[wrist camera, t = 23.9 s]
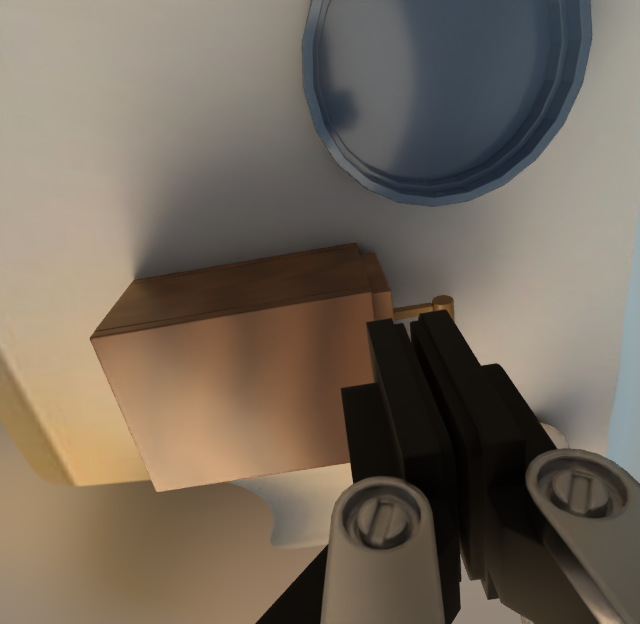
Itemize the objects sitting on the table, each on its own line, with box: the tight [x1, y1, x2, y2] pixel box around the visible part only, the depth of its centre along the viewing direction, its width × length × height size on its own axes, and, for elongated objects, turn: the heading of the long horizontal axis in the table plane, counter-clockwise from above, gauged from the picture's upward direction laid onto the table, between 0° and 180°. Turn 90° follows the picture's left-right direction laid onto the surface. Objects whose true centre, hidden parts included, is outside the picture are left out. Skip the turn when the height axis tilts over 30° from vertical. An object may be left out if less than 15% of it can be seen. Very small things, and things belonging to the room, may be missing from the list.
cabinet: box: [90, 243, 375, 492], centre depth 35 cm, size 17×13×9 cm
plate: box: [302, 0, 592, 207], centre depth 29 cm, size 16×16×3 cm
